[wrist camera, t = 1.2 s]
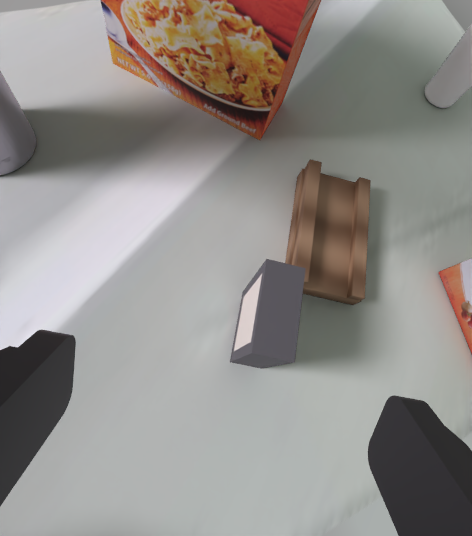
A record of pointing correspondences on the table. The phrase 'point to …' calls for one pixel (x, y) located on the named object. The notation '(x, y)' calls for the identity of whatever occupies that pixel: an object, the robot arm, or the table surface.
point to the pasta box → (214, 51)
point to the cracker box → (460, 294)
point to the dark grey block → (269, 316)
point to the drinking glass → (452, 74)
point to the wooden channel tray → (330, 234)
